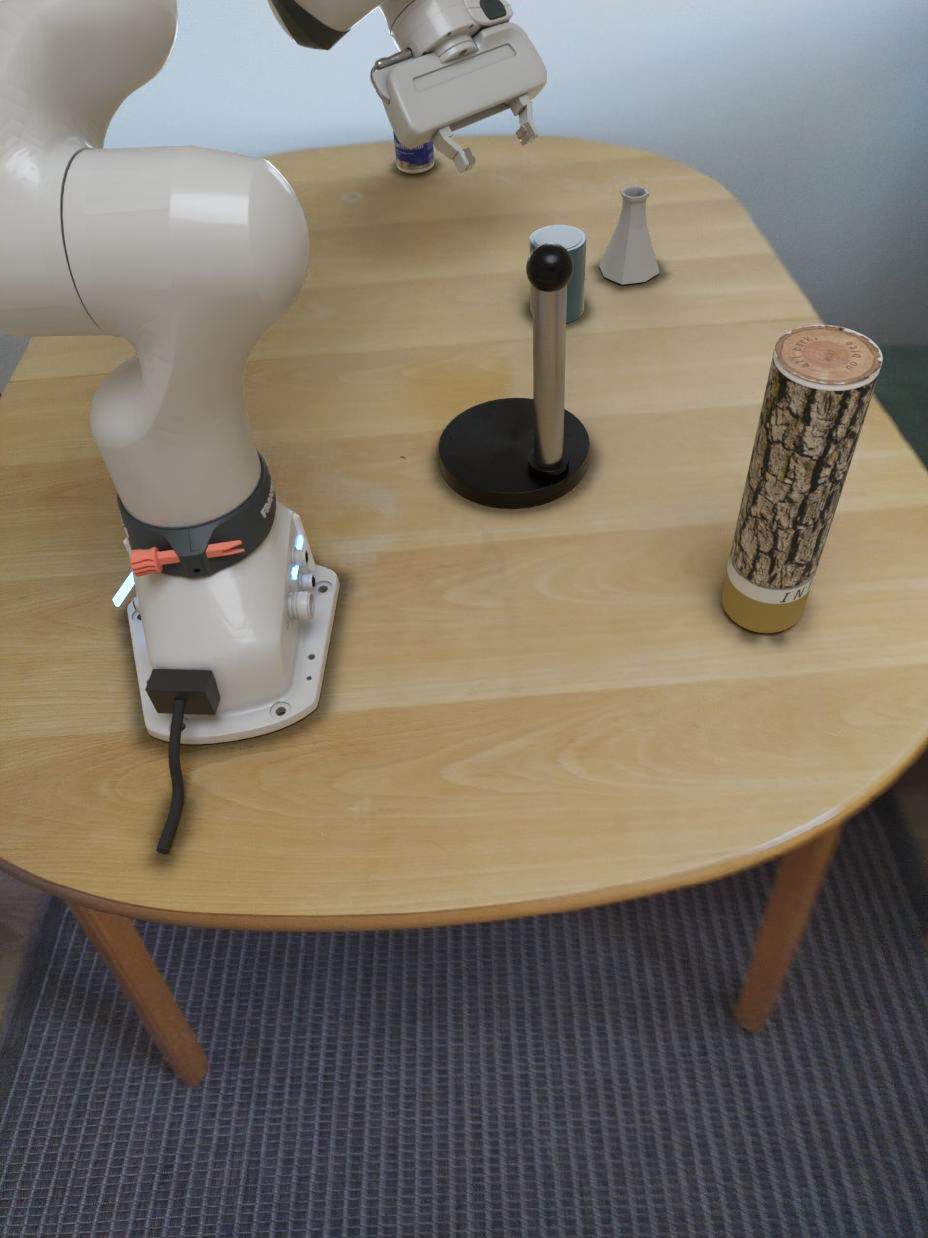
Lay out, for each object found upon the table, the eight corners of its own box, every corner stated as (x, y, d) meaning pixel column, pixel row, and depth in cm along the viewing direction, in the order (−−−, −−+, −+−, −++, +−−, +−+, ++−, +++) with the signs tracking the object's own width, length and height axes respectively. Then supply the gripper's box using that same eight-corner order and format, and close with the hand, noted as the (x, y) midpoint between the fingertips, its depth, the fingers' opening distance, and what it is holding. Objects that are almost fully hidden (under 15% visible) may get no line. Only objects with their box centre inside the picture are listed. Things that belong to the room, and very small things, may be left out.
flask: (589, 265, 119) (592, 186, 112) (638, 250, 121) (644, 171, 113) (619, 291, 115) (624, 211, 107) (669, 275, 116) (678, 195, 109)
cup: (589, 320, 111) (592, 247, 104) (535, 328, 111) (535, 255, 104) (577, 292, 115) (579, 220, 108) (525, 299, 115) (524, 227, 108)
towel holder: (410, 458, 96) (379, 227, 78) (518, 395, 102) (513, 166, 84) (508, 531, 89) (500, 293, 70) (619, 458, 94) (638, 221, 76)
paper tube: (709, 621, 80) (761, 369, 61) (733, 568, 84) (790, 316, 65) (790, 647, 77) (870, 394, 59) (811, 592, 81) (893, 337, 62)
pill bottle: (392, 173, 140) (384, 102, 132) (402, 157, 144) (395, 86, 136) (429, 175, 139) (423, 103, 131) (439, 158, 143) (433, 87, 135)
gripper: (372, 46, 97) (440, 170, 99) (519, -6, 105) (578, 111, 107) (353, 82, 103) (417, 199, 105) (494, 31, 111) (551, 141, 113)
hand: (500, 154), depth 106 cm, fingers open, 8 cm apart
